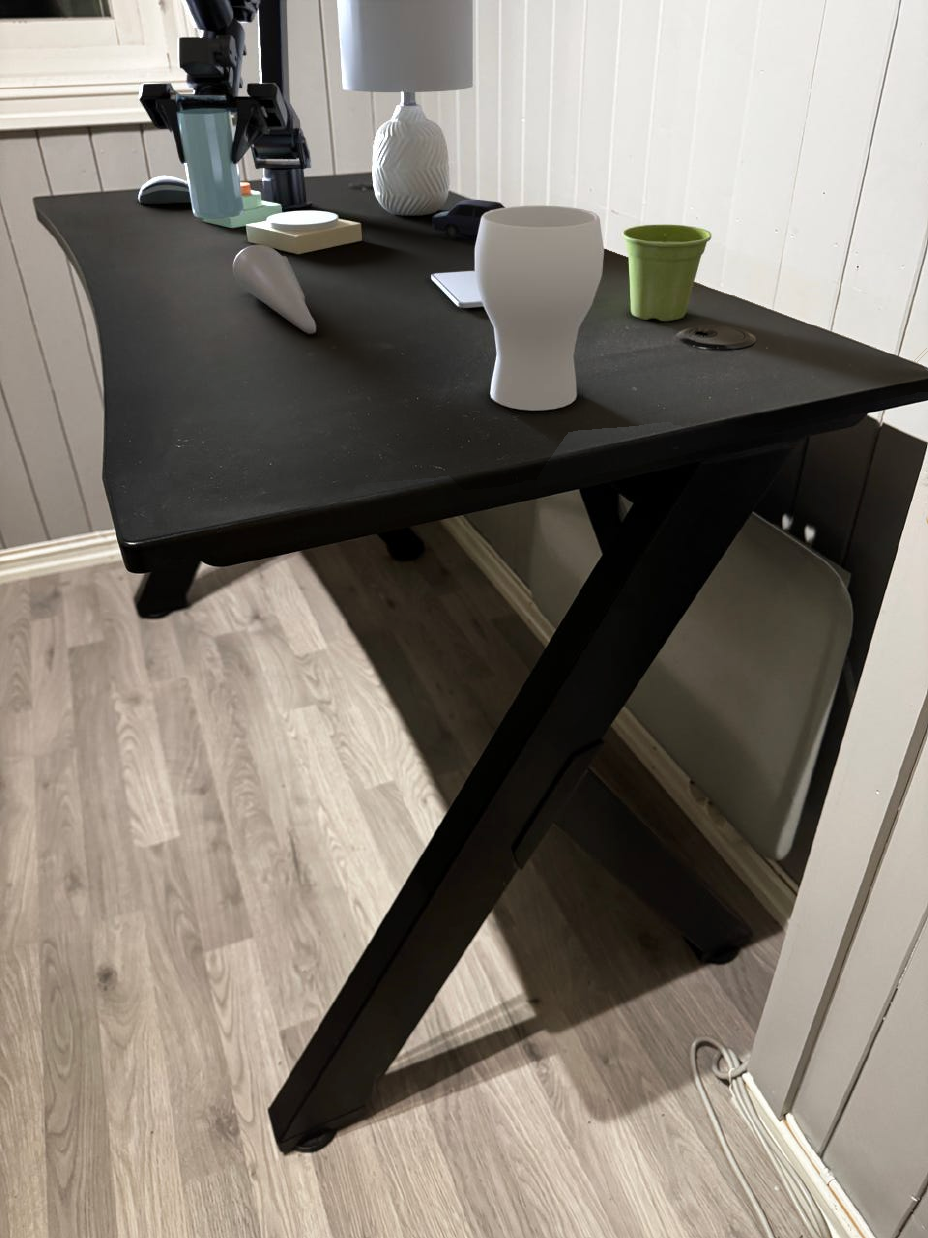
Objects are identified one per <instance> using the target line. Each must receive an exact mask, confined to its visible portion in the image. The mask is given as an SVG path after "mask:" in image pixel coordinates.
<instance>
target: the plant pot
mask: <svg viewBox="0 0 928 1238" xmlns="http://www.w3.org/2000/svg"><path fill="white" fill-rule="evenodd" d="M712 235H713V234H712V233H711V232H710V231H709V230H707V229H704V228H700V227H696V226H689V225H685V224H684V225H682V224H666V223H665V224H644V225H636V226H633V227H632V226H631V227H628V228H626V229H625V230H623V231H622V232H621V237H622V238H623V239H624V240H625V250H626V253H627V254H628V273H629V294H630V295H629V296H630V312H631V313H630V314H632V316H634V317H635V318H638V319H640V320H643V321H649V320H650V319H656V320H658V321H659V322H670V321H676V320H677V321H678V320H680V319H682V318H684V317H685V315H686V314H687V312H688V308H689V304H690V302H691V301H690V300H691V296H692V292H693V288H694V284H695V280H696V277H697V272H698V268H699V264H700V261H701V258H702V255H703V254H704V252H705V250H706V247H707V243H708V242H709V241H711V239H712V237H713V236H712Z"/></svg>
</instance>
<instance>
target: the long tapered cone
mask: <svg viewBox="0 0 928 1238" xmlns="http://www.w3.org/2000/svg"><path fill="white" fill-rule="evenodd" d="M232 263H233V264H232V272H233V276H234V277H233V278H234V279H235V281H236V282H237V283H238V285H239V286H240V287H241V288H242V289H244V290H245V291H247V292H248V293H249V294H251V295H252V296H254V297H255V298H257V299H258V300H259V301H261V302H262V303H263V304H265V306H267V307H269V308H270V309H271V310H273V311H274V312H276V313H277V314H278V315H280V316H281V317H282V318H284V319H285V320H287V321H288V322H290V323H291V324H292V325H294V326H295V327H297V328H298V329H299V330H301V331H303V332H304V333H305V334H308V335H313V334H315V333H316V332H317V324H316V321H315V320H314V318H313V317H312V314H311V313H310V311H309V309H308V306H307V305H306V297H305V294H304V292H303V290H302V288H301V285H300V284H299V281H298V279H297V277H296V275H295V272H294V271H293V270H294V269H293V268H292V266H291V264H290V261H289V259H288V257H287V256H285V255H284V256H283V255H281V253H279V252H278V251H277V250H275V248H271V247H268V246H264V245H259V244H253V245H250V246H249V245H248V246H247V247H245V248H243V249H242V250H240V251H239V252H238V253H237V254H236V256H235V258H234V260H233V262H232Z"/></svg>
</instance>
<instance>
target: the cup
mask: <svg viewBox="0 0 928 1238" xmlns="http://www.w3.org/2000/svg"><path fill="white" fill-rule="evenodd" d="M476 236H477V237H476V241H475V245H474V270H475V277H476V281H477V284H478V288H479V292H480V296H481V300H482V303H483V306H484V307H483V308H484V311H485V312H486V314H487V316H488V318H489V320H490V323H491V325H492V327H493V334H494V342H495V351H496V352H495V353H496V356H495V362H494V367H493V372H492V378H491V384H490V393H489V395H490V398H491V399H492V400H493V401H494V402H495V403H497V404H499V405H501V406H503V407H507V408H510V409H516V410H520V411H533V412H535V411H549V410H556V409H560V408H564V407H567V406H569V405H571V404H572V403H573V402H575V401H576V399H577V396H578V391H577V376H576V367H575V366H576V365H575V357H574V356H575V349H576V345H577V341H578V340H577V339H578V334H579V331H580V330H579V329H580V327H581V326H582V323H583V322H584V320H585V318H586V316H587V315H588V313H589V311H590V309H591V308H592V305H593V303H594V300H595V297H596V294H597V291H598V289H599V285H600V283H601V280H602V277H603V270H604V269H603V268H604V257H605V247H604V239H603V232H602V225H601V219H600V216H599V215H598V214H597V213H595V212H593V211H591V210H588V209H584V208H577V207H571V206H560V205H542V204H541V205H516V206H505V208H500V209H495V210H491V211H489V212H486V213H484V214H483V215H482V217H481V221H480V226H479V231H478V235H476Z"/></svg>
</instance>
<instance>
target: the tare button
mask: <svg viewBox="0 0 928 1238" xmlns="http://www.w3.org/2000/svg"><path fill="white" fill-rule="evenodd" d="M240 184H241V191H242V196H245V195H251V190H252V189H251V188H252V187H251V183H249V182H241V181H240Z"/></svg>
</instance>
